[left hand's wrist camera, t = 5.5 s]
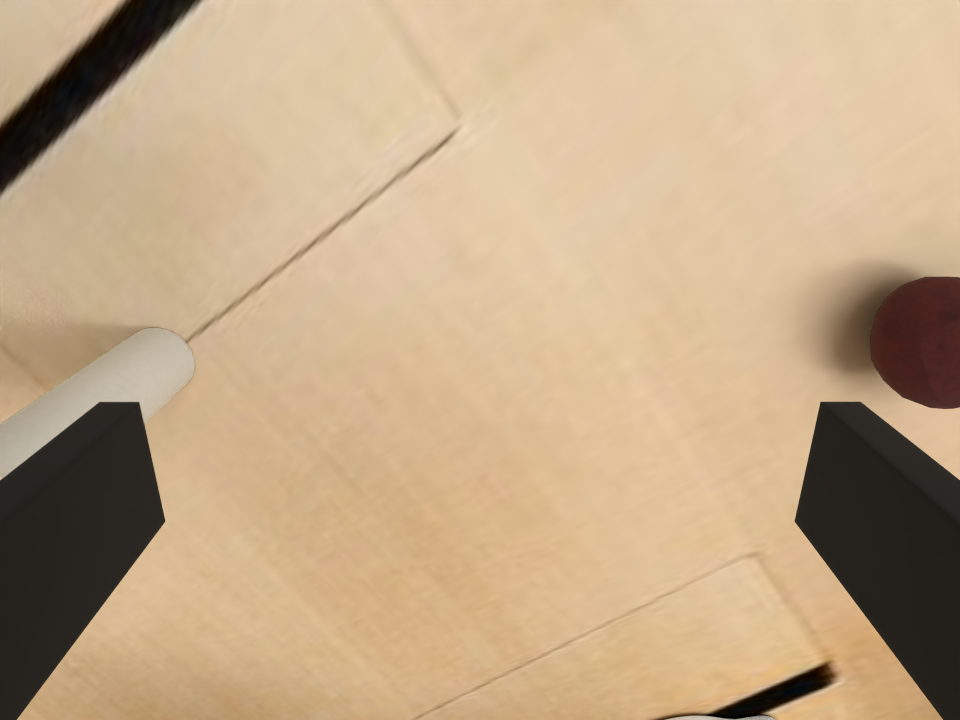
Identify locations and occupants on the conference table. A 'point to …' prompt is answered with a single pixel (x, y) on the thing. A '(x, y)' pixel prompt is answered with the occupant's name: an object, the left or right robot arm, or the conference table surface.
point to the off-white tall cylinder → (101, 391)
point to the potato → (920, 341)
